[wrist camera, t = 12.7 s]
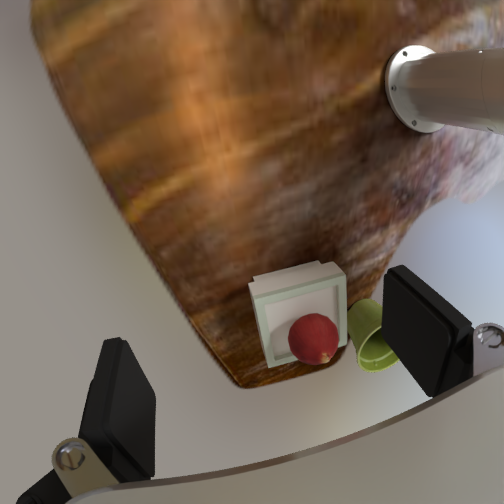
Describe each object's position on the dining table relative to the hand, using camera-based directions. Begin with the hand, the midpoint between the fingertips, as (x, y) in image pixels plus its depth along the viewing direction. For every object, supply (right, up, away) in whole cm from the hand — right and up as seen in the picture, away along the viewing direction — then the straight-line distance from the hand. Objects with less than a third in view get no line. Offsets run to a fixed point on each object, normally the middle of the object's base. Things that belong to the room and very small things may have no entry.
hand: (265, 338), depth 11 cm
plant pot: (+17, -7, +38) cm, 42 cm away
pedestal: (+5, -3, +34) cm, 34 cm away
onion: (+6, -5, +28) cm, 30 cm away
